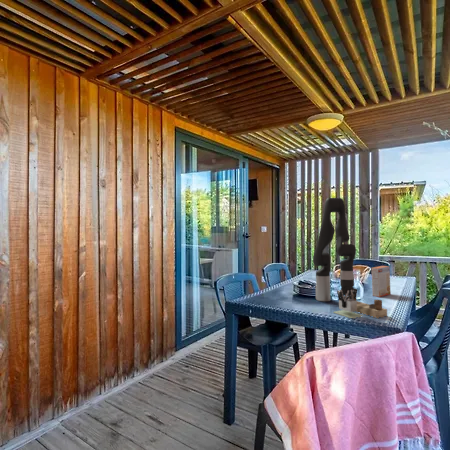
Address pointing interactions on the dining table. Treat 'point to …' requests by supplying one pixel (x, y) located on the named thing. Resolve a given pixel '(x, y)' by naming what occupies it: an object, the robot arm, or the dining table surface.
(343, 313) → the mat
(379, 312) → the plane body
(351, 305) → the beige rectangular block
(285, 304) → the dining table surface
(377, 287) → the cracker box
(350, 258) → the robot arm
